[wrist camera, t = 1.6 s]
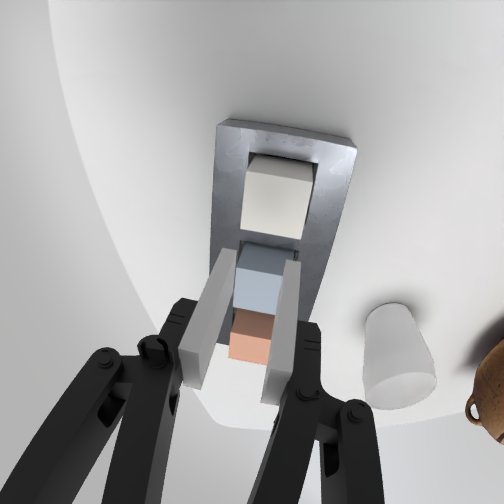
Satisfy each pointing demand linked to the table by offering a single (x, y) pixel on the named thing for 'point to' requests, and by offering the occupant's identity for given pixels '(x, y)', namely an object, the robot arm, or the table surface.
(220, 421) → the table surface
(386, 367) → the cup
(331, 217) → the panel
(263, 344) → the terracotta key
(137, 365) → the robot arm
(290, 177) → the ivory key
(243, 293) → the slate key
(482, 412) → the vase
